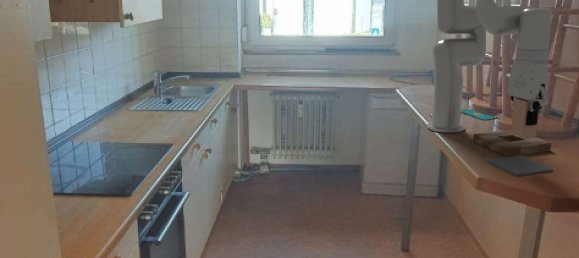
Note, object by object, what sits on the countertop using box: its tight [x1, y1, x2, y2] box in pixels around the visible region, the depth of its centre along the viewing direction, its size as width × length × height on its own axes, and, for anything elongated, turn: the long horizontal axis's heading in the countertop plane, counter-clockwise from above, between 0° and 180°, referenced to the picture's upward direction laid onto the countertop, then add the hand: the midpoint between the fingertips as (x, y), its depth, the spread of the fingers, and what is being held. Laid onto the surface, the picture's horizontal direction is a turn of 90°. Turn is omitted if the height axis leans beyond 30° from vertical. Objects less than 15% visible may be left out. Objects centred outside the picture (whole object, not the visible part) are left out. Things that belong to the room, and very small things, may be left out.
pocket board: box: [472, 129, 552, 157], centre depth 158 cm, size 16×16×2 cm
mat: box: [486, 154, 554, 177], centre depth 141 cm, size 12×12×1 cm
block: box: [510, 98, 540, 138], centre depth 136 cm, size 4×4×10 cm
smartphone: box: [461, 108, 494, 121], centre depth 195 cm, size 7×1×15 cm
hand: (524, 121), depth 137 cm, fingers closed on block, 4 cm apart
